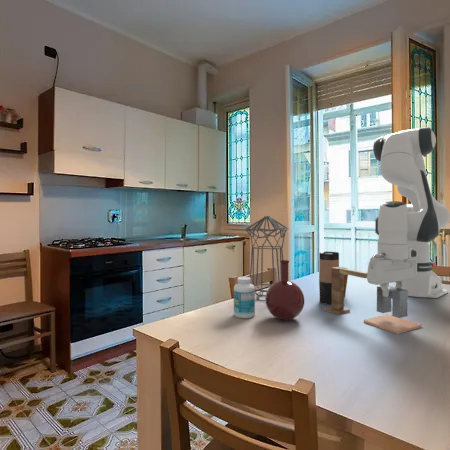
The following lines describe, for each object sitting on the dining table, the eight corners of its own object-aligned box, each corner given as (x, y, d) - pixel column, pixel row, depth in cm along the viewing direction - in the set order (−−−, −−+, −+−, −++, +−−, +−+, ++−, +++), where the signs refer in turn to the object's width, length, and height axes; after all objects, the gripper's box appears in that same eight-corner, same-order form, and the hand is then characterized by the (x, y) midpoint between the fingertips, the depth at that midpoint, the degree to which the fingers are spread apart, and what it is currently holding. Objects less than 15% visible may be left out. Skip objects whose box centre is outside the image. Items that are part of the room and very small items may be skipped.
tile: (387, 316, 116) (387, 314, 116) (421, 326, 105) (421, 324, 105) (363, 322, 110) (363, 319, 110) (397, 334, 100) (397, 331, 100)
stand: (337, 307, 127) (337, 265, 126) (372, 319, 113) (372, 272, 112) (325, 310, 124) (325, 267, 123) (360, 322, 110) (360, 274, 109)
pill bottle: (232, 312, 122) (232, 276, 121) (253, 312, 123) (252, 275, 122) (235, 319, 115) (234, 280, 114) (256, 318, 115) (256, 279, 115)
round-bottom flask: (303, 313, 120) (303, 258, 119) (305, 326, 107) (305, 264, 106) (266, 312, 122) (265, 258, 121) (264, 324, 109) (264, 263, 108)
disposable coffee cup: (348, 294, 146) (348, 267, 146) (349, 300, 137) (349, 270, 137) (326, 292, 149) (326, 266, 149) (325, 298, 140) (325, 269, 140)
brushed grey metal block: (407, 316, 105) (407, 289, 105) (399, 318, 103) (399, 291, 103) (384, 309, 112) (384, 285, 112) (376, 311, 110) (376, 286, 110)
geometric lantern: (244, 301, 137) (243, 216, 136) (255, 293, 151) (254, 216, 151) (282, 304, 131) (281, 215, 130) (290, 296, 145) (289, 215, 145)
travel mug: (340, 305, 130) (340, 254, 129) (319, 304, 131) (319, 253, 130) (337, 300, 137) (337, 251, 136) (318, 299, 139) (318, 251, 138)
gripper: (379, 255, 99) (379, 302, 100) (421, 251, 109) (420, 293, 109) (362, 253, 105) (361, 297, 105) (403, 249, 114) (402, 289, 115)
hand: (392, 295), depth 107 cm, fingers closed on brushed grey metal block, 4 cm apart
